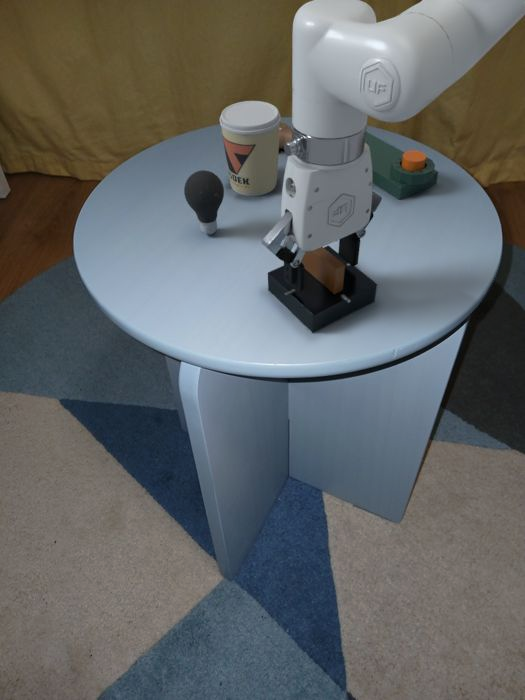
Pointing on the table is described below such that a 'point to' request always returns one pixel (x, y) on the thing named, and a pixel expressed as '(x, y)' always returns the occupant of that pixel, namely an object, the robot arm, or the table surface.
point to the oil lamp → (284, 134)
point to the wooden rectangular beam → (325, 268)
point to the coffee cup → (251, 146)
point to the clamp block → (323, 295)
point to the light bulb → (205, 198)
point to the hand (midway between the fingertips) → (321, 271)
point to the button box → (397, 170)
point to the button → (413, 160)
